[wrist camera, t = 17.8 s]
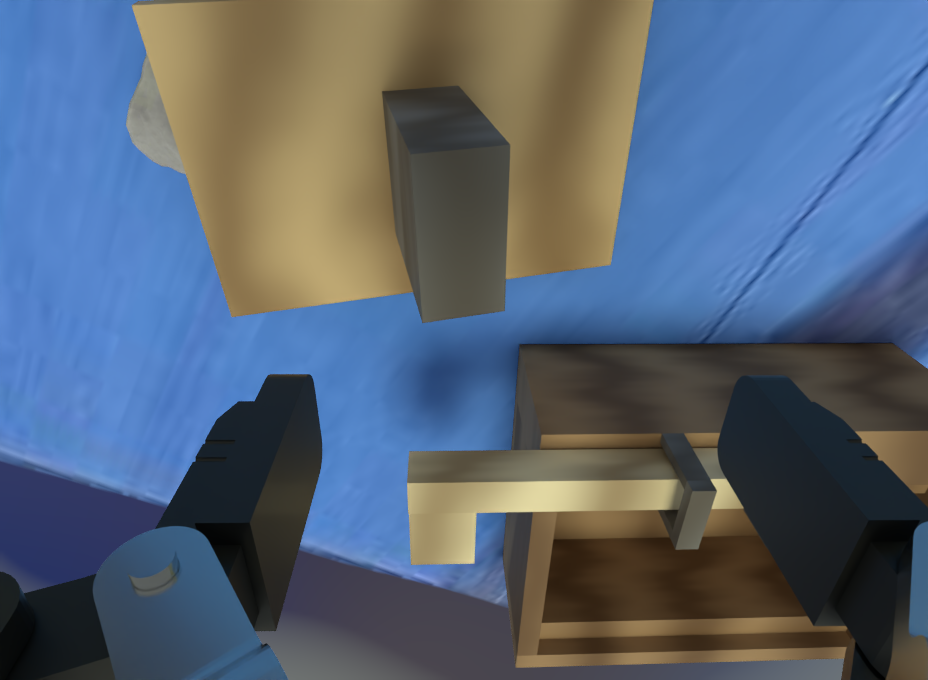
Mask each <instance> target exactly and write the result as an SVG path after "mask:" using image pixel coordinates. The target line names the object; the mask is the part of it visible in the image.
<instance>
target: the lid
mask: <svg viewBox="0 0 928 680" xmlns="http://www.w3.org/2000/svg"><path fill="white" fill-rule="evenodd" d="M653 1H654V0H154V1H138V2H136V3H135V4H133V5H132V8H133V11H134V14H135V17H136V20H137V23H138V26H139V30H140V33H141V36H142V39H143V42H144V45H145V48H146V51H147V54H148V58H149V61H150V64H151V67H152V70H153V73H154V76H155V79H156V82H157V86H158V89H159V92H160V95H161V98H162V101H163V104H164V107H165V110H166V114H167V117H168V120H169V123H170V126H171V129H172V132H173V135H174V138H175V142H176V145H177V148H178V151H179V154H180V157H181V160H182V163H183V166H184V170H185V173H186V176H187V179H188V182H189V185H190V188H191V191H192V194H193V198H194V201H195V204H196V207H197V210H198V213H199V216H200V219H201V222H202V226H203V229H204V232H205V235H206V238H207V241H208V244H209V247H210V250H211V254H212V257H213V260H214V263H215V266H216V269H217V272H218V275H219V278H220V282H221V285H222V288H223V291H224V294H225V297H226V300H227V303H228V307H229V310H230V313H231V316H232V317H236V316H243V315H250V314H258V313H265V312H272V311H279V310H287V309H294V308H301V307H308V306H316V305H323V304H330V303H337V302H345V301H352V300H359V299H366V298H374V297H381V296H388V295H396V294H403V293H410V292H413V293H414V296H415V300H416V303H417V306H418V309H419V313H420V316H421V319H422V323H426V322H433V321H439V320H446V319H453V318H460V317H467V316H473V315H480V314H487V313H494V312H500V311H505V285H506V279H512V278H519V277H526V276H533V275H541V274H548V273H555V272H562V271H570V270H577V269H584V268H591V267H599V266H606V265H611V259H612V253H613V247H614V240H615V234H616V228H617V222H618V216H619V210H620V204H621V197H622V191H623V185H624V179H625V173H626V167H627V161H628V155H629V148H630V142H631V136H632V130H633V124H634V118H635V112H636V106H637V99H638V93H639V87H640V81H641V75H642V69H643V63H644V57H645V50H646V44H647V38H648V32H649V26H650V20H651V14H652V8H653Z"/></svg>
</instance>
